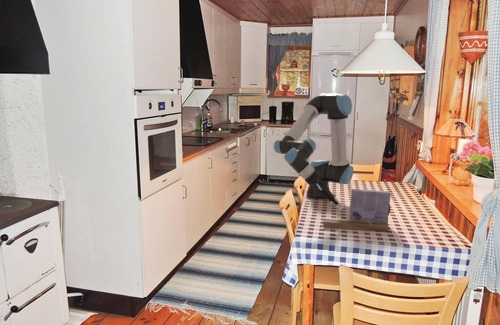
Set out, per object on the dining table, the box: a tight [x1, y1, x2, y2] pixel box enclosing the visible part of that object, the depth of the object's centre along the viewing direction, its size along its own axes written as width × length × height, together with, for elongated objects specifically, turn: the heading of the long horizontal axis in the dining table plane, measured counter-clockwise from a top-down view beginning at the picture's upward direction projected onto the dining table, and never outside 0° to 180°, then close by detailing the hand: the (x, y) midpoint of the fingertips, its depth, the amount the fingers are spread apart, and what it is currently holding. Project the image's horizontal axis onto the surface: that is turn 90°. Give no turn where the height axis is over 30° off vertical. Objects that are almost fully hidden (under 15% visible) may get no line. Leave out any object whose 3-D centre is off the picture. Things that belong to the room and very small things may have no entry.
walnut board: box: [322, 218, 389, 233], centre depth 182 cm, size 5×30×3 cm, turn 80°
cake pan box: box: [348, 188, 392, 226], centre depth 185 cm, size 19×5×18 cm, turn 80°
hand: (341, 208), depth 187 cm, fingers closed
